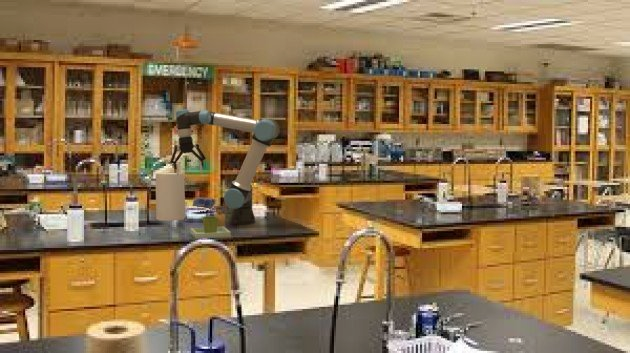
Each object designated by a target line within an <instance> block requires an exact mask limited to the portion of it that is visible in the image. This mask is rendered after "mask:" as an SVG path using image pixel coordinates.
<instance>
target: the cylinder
mask: <svg viewBox="0 0 630 353" xmlns="http://www.w3.org/2000/svg"><path fill="white" fill-rule="evenodd" d="M185 192H186V190H185V173H184V172H179V175H177V173H176V172H155V207H156V208H155V217H156V220H157V221H161V222H174V221H173V220H177V221H183V220H185V219H186V196H185V195H186V194H185ZM184 218H185V219H184Z"/></svg>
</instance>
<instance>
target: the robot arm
mask: <svg viewBox="0 0 630 353" xmlns="http://www.w3.org/2000/svg"><path fill="white" fill-rule="evenodd" d="M175 121H176V127H177V128H176V129H177V136H178V137H179V138H178V143H179V145H178V146H177V145H174V147H173V152H172V154H171V157H170V161H169V163H170V164H173V169H174V170H175V171H176V172H175V173H177V175H179V173H180V171H179V170H180V169H179V163H178V161H179V160H180V159H181V157H182V155H183V154H188V153H189V154H190V153H191V154H192V155H193V156H195V157H196V158H197V159H198V160H199V161H198V168H199V173H200V174H201V173H203V167H204V162H203V161H204V160H206V159H207V158H206V156H205V155H204V153H203V151H202V150H201V149H200V146H199V143H196V144H193V136H192V127H191V126H197V125H198V126H199V125H210V126H217V127H222V128H227V129H232V130H236V131H237V130H238V131H243V132H248V133H249V132H250V133H253V134H252V135H251V141H252V142H251V145H250V146H249V149H248V152H247V153H246V156H245V159H244V160H243V163H242V165H241V167H240V169H239V172H238V173H237V176H236V179H235V180H233V181H231V183H230V185H229V188H228V189H227V190H226V191H225V192H224V195H223V201H224V203H225V205H226V206H227V207H228V208H230V209H231V213H230V217H229V223H230V224H232V225H251V224H255V223H256V216H255V214H254V210H253V185H252V182H253V180H254V177H255V175H256V173H257V170H258V169H259V167H260V164H261V162H262V159H263V157H264V155H265V152H266V151H267V148H270V147H271V146H272V145H273V144H272V143H273V141H274V140H275V139H276V138H277V137H278V136H279V135H280V132H281V127H280V125H279V123H278V122H277V120H275V119H271V118H268V119H267V118H258V119H254V118H249V117H243V116H236V115H232V114H226V113H225V114H224V113H220V112H215V111H211V110H208V109H206V110H198V111H192V112H191V111H189V109H188V108H187V109H186V108H185V109H177V110H176V111H175ZM194 148H195V149H196V151H197V152H198V153H197V152H196V151H195V150H194ZM178 150H180V151H179V153H178V154H177V152H178ZM176 155H177V156H176ZM175 157H176V158H175Z"/></svg>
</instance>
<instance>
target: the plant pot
mask: <svg viewBox="0 0 630 353" xmlns="http://www.w3.org/2000/svg"><path fill="white" fill-rule="evenodd" d="M201 220H202V225H203V228H204V232H205V233H215V232H217V225H218V221H219V217H214V216H203V217H201Z"/></svg>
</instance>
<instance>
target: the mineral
mask: <svg viewBox="0 0 630 353" xmlns="http://www.w3.org/2000/svg"><path fill="white" fill-rule="evenodd" d="M215 205H216V199H214V198H213V197H203V196H201V197H195V198H194V199H193V202H192V204H191V206H197V207H206V208H209V209H210V210H212V208H213V207H214V206H215Z"/></svg>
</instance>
